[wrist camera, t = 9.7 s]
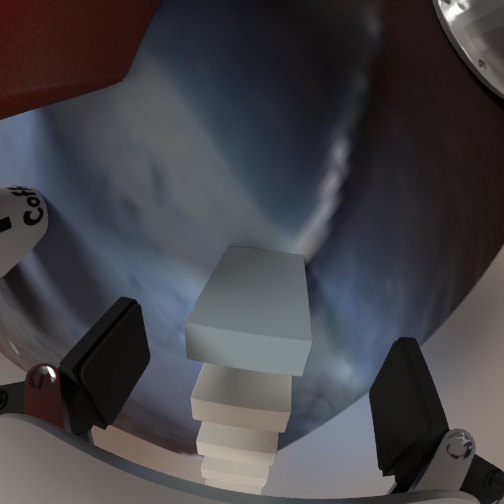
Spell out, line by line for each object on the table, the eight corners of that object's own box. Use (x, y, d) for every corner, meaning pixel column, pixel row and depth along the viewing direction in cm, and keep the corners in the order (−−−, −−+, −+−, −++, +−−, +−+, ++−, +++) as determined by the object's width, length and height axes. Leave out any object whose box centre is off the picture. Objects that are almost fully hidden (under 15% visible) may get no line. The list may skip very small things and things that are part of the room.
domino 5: (269, 422, 26) (260, 495, 17) (267, 431, 26) (258, 500, 18) (222, 416, 26) (204, 486, 18) (222, 425, 27) (205, 492, 18)
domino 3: (283, 361, 22) (276, 453, 14) (279, 377, 23) (272, 465, 14) (223, 353, 22) (196, 441, 14) (223, 369, 23) (198, 454, 15)
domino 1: (303, 255, 19) (312, 341, 10) (298, 282, 19) (302, 376, 11) (228, 245, 19) (184, 322, 11) (227, 272, 20) (186, 358, 11)
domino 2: (292, 314, 20) (290, 412, 12) (288, 335, 21) (284, 432, 13) (225, 306, 21) (190, 397, 12) (224, 327, 21) (193, 418, 13)
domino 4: (275, 396, 24) (267, 478, 15) (272, 408, 25) (264, 486, 16) (223, 389, 24) (200, 468, 16) (222, 401, 25) (202, 477, 17)
